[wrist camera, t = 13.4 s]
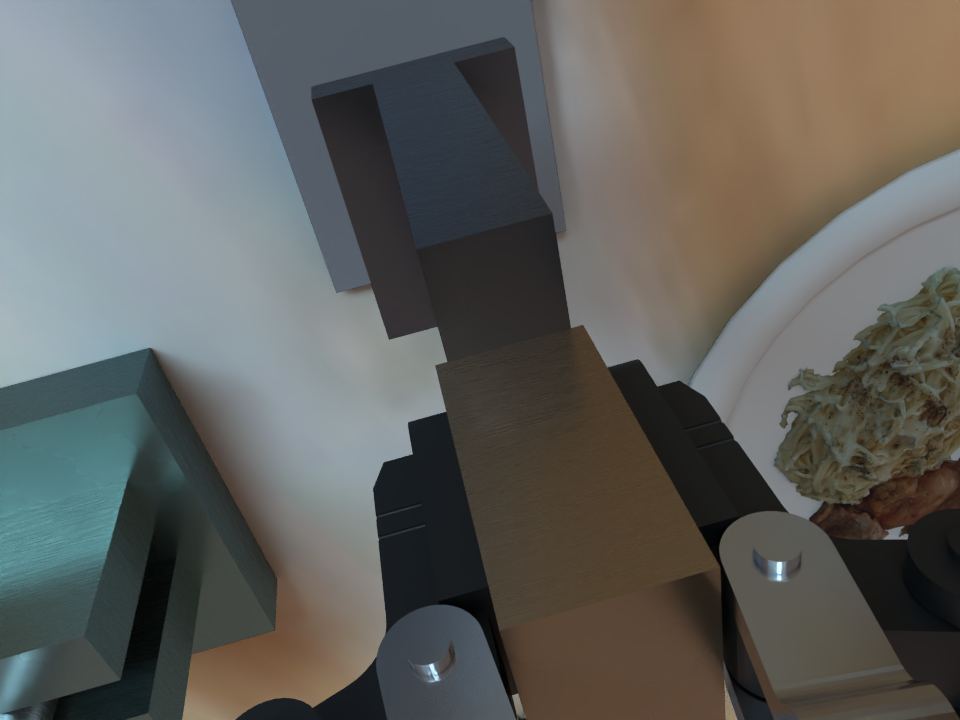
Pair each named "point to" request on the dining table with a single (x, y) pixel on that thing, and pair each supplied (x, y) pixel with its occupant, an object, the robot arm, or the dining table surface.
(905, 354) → the plated food
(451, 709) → the robot arm
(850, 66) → the dining table surface
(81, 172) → the dining table surface
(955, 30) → the dining table surface
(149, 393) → the vise
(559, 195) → the slate pad
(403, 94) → the brown and black post
